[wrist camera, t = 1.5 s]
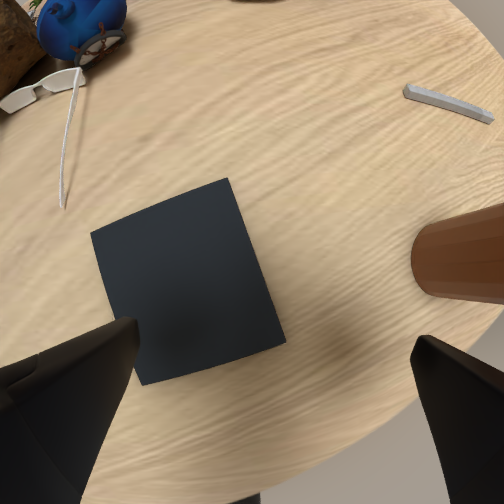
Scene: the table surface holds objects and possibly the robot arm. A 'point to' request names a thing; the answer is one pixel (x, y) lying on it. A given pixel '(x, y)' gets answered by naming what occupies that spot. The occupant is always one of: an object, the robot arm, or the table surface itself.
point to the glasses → (55, 84)
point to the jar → (463, 257)
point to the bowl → (16, 45)
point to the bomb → (81, 29)
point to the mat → (188, 283)
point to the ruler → (447, 103)
